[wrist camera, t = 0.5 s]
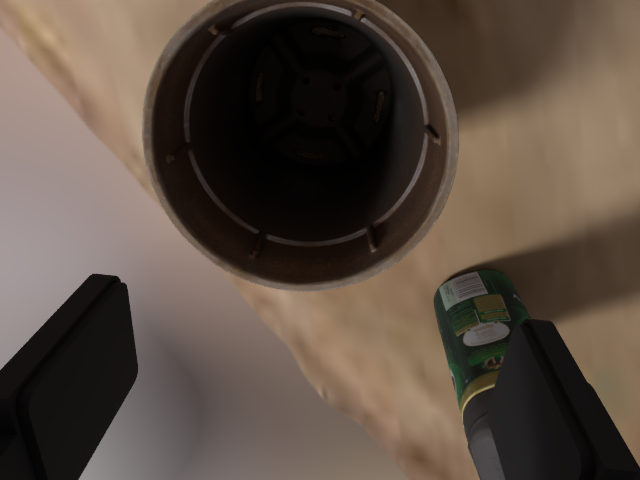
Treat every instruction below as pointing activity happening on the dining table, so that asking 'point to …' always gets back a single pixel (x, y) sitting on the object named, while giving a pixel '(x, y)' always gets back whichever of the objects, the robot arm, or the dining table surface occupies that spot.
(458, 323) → the coffee jar
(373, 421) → the dining table surface
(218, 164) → the plant pot
